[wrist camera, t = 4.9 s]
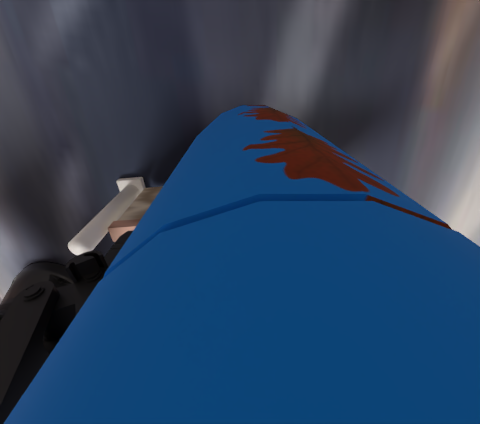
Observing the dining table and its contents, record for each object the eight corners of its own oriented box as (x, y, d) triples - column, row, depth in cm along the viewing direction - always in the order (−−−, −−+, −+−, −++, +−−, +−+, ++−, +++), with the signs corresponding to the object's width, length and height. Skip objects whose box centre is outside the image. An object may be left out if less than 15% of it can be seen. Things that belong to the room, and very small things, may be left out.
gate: (147, 196, 39) (113, 241, 29) (143, 185, 38) (107, 228, 28) (291, 185, 38) (312, 228, 28) (292, 174, 37) (313, 213, 27)
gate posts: (126, 199, 41) (69, 262, 27) (118, 178, 39) (53, 235, 25) (313, 185, 40) (352, 244, 26) (315, 163, 38) (359, 213, 24)
